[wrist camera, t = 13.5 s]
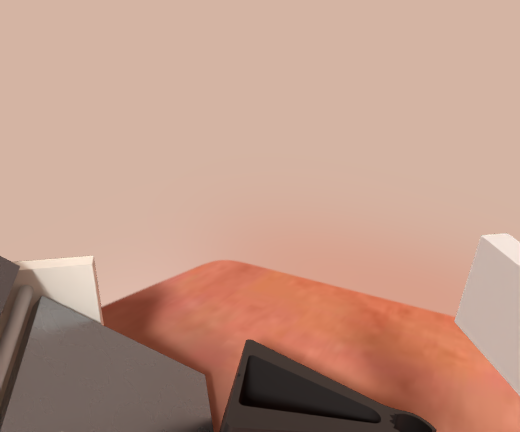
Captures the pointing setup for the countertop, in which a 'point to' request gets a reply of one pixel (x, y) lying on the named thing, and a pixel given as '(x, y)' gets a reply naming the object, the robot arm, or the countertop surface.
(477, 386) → the countertop surface
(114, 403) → the trapdoor
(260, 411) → the phone stand
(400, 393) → the countertop surface
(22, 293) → the frame
